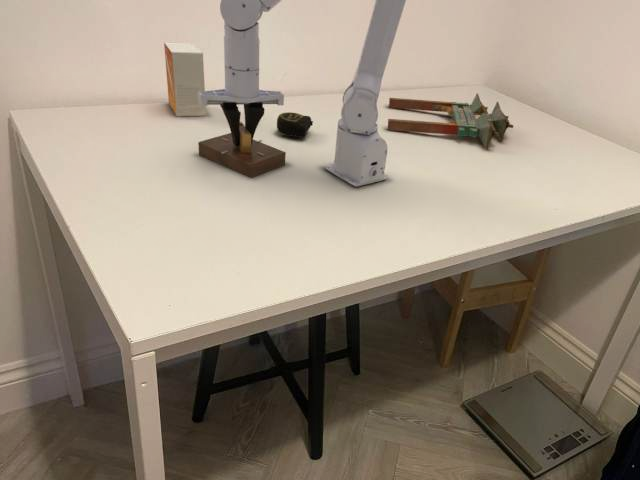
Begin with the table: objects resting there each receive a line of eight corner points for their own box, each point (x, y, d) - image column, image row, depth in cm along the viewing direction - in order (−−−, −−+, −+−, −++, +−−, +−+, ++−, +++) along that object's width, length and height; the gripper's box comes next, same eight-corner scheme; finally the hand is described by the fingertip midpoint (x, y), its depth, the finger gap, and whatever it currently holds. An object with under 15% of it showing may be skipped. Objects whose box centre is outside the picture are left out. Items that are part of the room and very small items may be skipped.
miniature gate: (390, 86, 146) (504, 95, 147) (388, 108, 149) (500, 116, 150) (388, 118, 124) (522, 128, 124) (386, 142, 127) (517, 152, 127)
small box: (168, 104, 123) (163, 41, 116) (197, 104, 126) (194, 42, 119) (175, 116, 118) (171, 51, 110) (206, 116, 120) (203, 52, 113)
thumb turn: (251, 152, 101) (251, 133, 99) (242, 153, 100) (242, 133, 98) (242, 140, 105) (242, 121, 103) (233, 141, 104) (233, 121, 102)
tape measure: (304, 142, 116) (305, 124, 114) (272, 136, 116) (272, 118, 114) (312, 132, 121) (313, 115, 119) (281, 126, 122) (282, 109, 119)
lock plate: (287, 164, 105) (287, 150, 104) (249, 178, 98) (249, 164, 96) (236, 143, 110) (236, 130, 109) (196, 155, 103) (195, 141, 101)
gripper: (276, 61, 101) (274, 134, 108) (192, 59, 94) (196, 137, 102) (289, 72, 96) (285, 148, 103) (202, 70, 89) (205, 152, 97)
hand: (242, 143), depth 102 cm, fingers closed on thumb turn, 2 cm apart
